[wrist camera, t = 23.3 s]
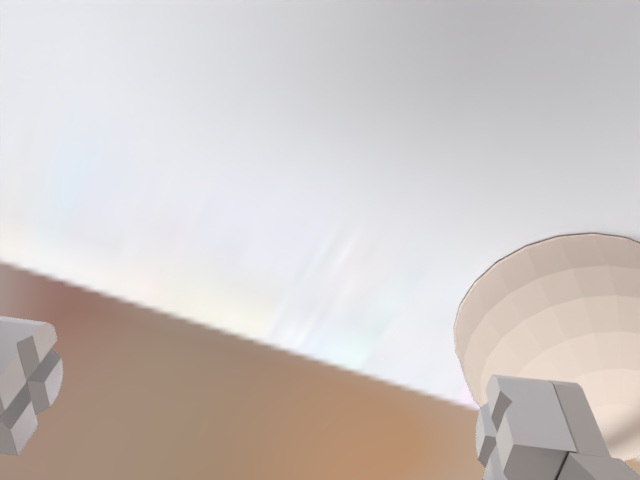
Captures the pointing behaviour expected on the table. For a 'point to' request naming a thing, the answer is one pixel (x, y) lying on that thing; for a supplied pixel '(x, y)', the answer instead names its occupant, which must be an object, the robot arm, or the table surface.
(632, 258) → the beige deep bowl
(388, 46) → the table surface
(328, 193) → the table surface
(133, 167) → the table surface
